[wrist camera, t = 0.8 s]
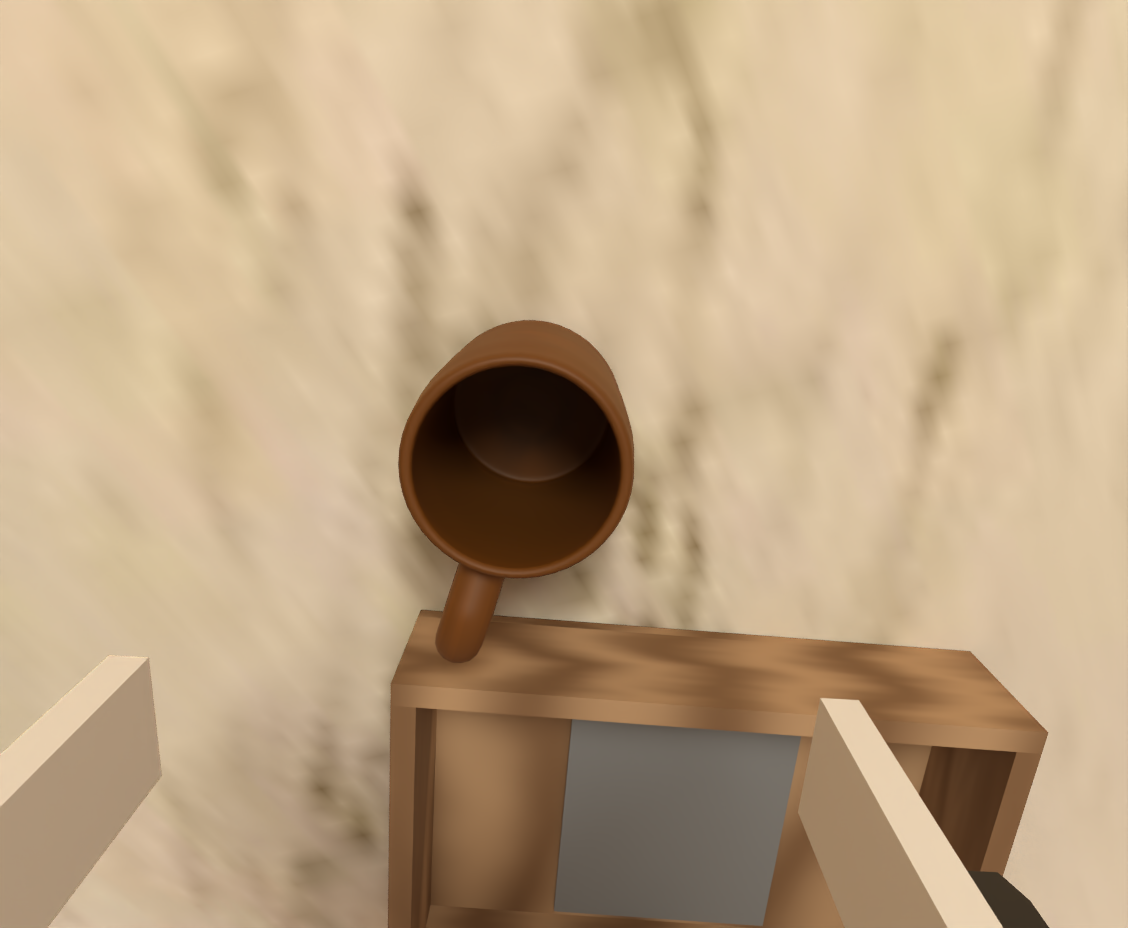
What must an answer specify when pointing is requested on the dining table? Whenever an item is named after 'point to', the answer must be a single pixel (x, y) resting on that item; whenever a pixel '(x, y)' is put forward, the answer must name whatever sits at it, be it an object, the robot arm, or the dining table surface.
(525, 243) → the dining table surface
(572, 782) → the pad
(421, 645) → the crate
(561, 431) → the mug
